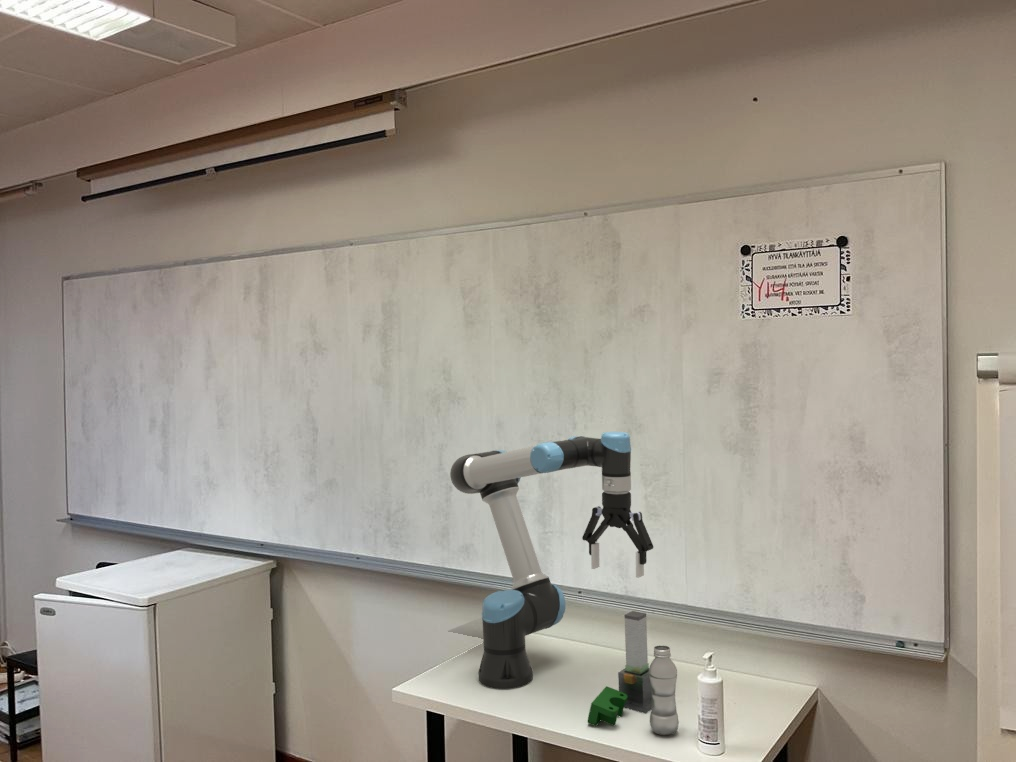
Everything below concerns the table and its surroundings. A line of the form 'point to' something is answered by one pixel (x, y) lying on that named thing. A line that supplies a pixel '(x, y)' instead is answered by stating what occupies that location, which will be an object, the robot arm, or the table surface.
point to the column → (636, 643)
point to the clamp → (607, 706)
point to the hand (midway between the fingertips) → (617, 572)
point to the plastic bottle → (663, 692)
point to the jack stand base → (636, 690)
